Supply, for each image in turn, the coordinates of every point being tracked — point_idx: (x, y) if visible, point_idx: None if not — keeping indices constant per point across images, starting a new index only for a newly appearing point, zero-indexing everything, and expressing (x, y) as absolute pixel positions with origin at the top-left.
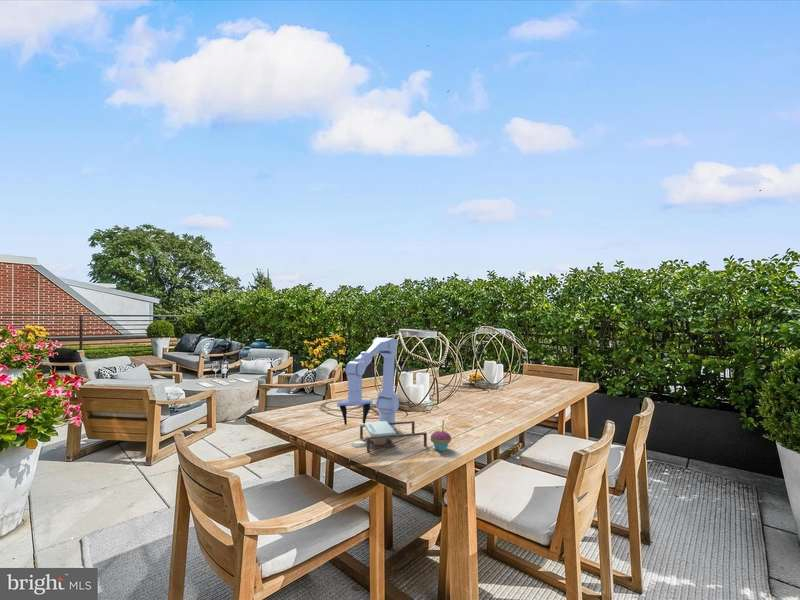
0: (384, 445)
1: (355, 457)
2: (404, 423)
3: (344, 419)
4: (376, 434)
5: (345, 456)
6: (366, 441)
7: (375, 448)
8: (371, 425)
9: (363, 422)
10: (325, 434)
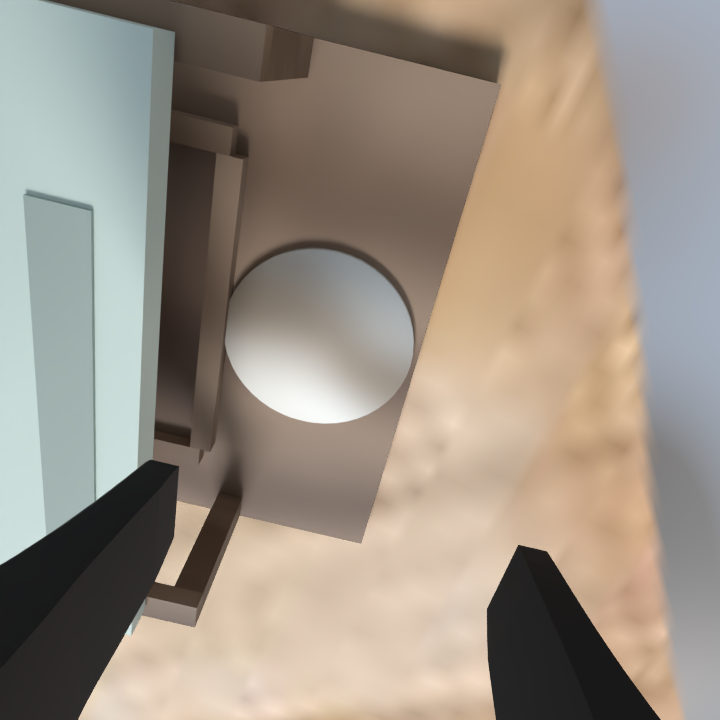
0: None
1: (506, 8)
2: None
3: (605, 646)
4: (43, 2)
5: (602, 117)
6: (218, 358)
7: (171, 108)
8: (52, 496)
9: (172, 484)
10: (475, 715)
